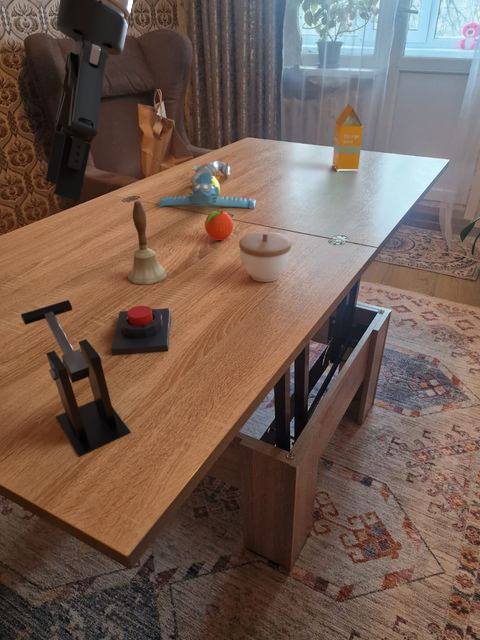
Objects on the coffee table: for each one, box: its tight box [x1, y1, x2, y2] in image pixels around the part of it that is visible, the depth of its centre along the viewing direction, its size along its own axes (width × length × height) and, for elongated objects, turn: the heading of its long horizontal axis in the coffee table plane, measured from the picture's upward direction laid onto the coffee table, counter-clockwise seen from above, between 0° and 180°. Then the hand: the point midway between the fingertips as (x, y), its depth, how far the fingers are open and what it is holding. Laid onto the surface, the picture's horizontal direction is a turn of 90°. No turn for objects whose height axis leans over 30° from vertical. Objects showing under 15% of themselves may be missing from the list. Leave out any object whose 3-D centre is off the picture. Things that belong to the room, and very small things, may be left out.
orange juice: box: [332, 104, 364, 170], centre depth 166 cm, size 8×9×20 cm
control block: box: [110, 307, 172, 356], centre depth 82 cm, size 9×12×4 cm
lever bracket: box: [45, 339, 132, 458], centre depth 62 cm, size 9×7×13 cm
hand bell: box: [127, 200, 168, 285], centre depth 98 cm, size 8×8×16 cm
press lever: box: [20, 299, 90, 384], centre depth 60 cm, size 11×6×2 cm, turn 37°
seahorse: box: [190, 160, 231, 184], centre depth 158 cm, size 5×12×20 cm
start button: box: [127, 305, 153, 326], centre depth 81 cm, size 4×4×2 cm
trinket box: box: [238, 231, 292, 283], centre depth 100 cm, size 11×11×9 cm
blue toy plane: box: [157, 173, 257, 210], centre depth 137 cm, size 28×9×15 cm
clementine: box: [204, 210, 234, 241], centre depth 117 cm, size 8×7×7 cm
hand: (60, 190), depth 62 cm, fingers open, 13 cm apart
